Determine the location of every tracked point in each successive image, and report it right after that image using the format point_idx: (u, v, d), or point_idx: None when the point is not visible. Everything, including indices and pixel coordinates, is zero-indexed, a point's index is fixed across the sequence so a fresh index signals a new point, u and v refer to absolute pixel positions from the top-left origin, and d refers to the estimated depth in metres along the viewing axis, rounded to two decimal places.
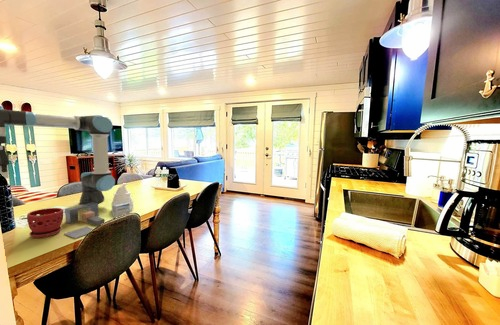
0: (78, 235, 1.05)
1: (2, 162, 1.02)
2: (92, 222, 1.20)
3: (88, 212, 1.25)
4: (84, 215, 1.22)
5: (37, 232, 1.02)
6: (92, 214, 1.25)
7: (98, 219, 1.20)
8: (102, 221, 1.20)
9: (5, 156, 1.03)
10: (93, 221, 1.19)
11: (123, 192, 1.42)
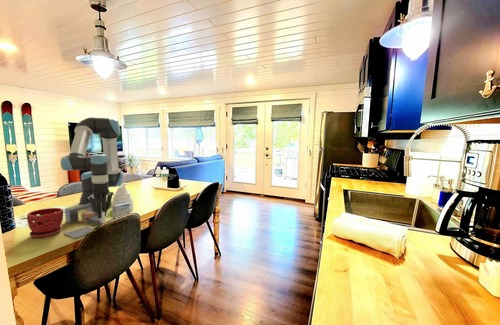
0: (78, 235, 1.05)
1: None
2: (92, 222, 1.20)
3: (88, 212, 1.25)
4: (84, 215, 1.22)
5: (37, 232, 1.02)
6: (92, 214, 1.25)
7: (98, 219, 1.20)
8: None
9: (93, 206, 1.14)
10: (93, 221, 1.19)
11: (123, 192, 1.42)
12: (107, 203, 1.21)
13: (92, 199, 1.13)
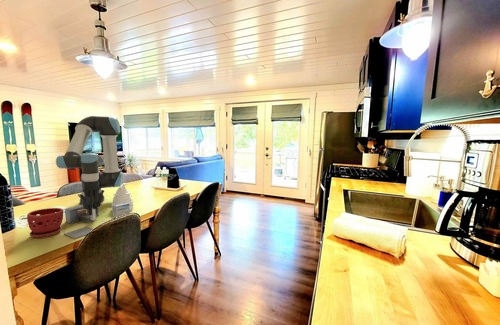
0: (78, 235, 1.05)
1: None
2: (83, 219, 1.24)
3: None
4: None
5: (37, 232, 1.02)
6: (84, 211, 1.29)
7: (89, 216, 1.24)
8: None
9: (84, 203, 1.18)
10: (84, 218, 1.23)
11: (123, 192, 1.42)
12: (98, 201, 1.25)
13: (83, 197, 1.16)
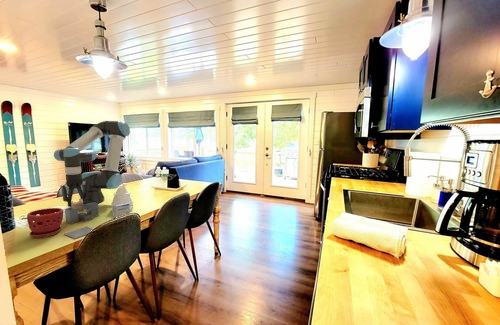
0: (78, 235, 1.05)
1: None
2: (80, 218, 1.25)
3: (77, 202, 1.30)
4: (73, 205, 1.27)
5: (37, 232, 1.02)
6: (81, 204, 1.30)
7: (86, 215, 1.26)
8: (90, 217, 1.26)
9: (64, 195, 1.23)
10: (81, 217, 1.25)
11: (123, 192, 1.42)
12: (84, 192, 1.33)
13: (64, 188, 1.23)
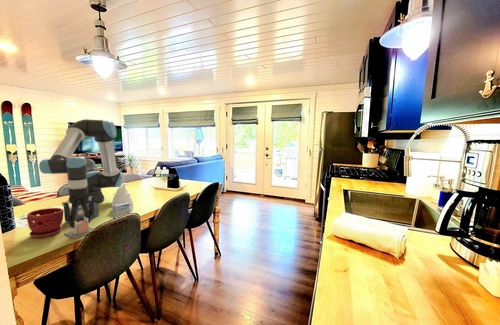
0: (78, 235, 1.05)
1: None
2: (80, 218, 1.25)
3: (81, 222, 1.08)
4: None
5: (37, 232, 1.02)
6: (86, 224, 1.08)
7: None
8: None
9: (66, 214, 1.02)
10: (81, 217, 1.25)
11: (123, 192, 1.42)
12: (90, 209, 1.12)
13: (67, 205, 1.02)
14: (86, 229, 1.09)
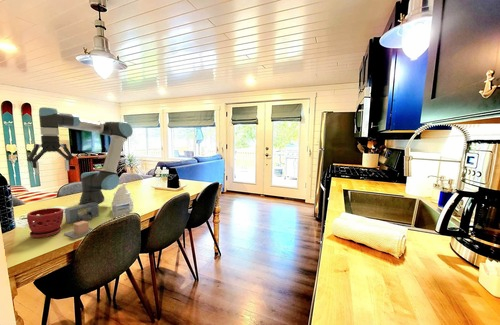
0: (78, 235, 1.05)
1: None
2: (80, 218, 1.25)
3: (81, 222, 1.08)
4: (76, 226, 1.06)
5: (37, 232, 1.02)
6: (86, 225, 1.08)
7: (85, 215, 1.25)
8: (88, 217, 1.25)
9: (31, 153, 1.13)
10: (80, 217, 1.25)
11: (123, 192, 1.42)
12: (68, 154, 1.28)
13: (37, 147, 1.14)
14: (86, 229, 1.09)
